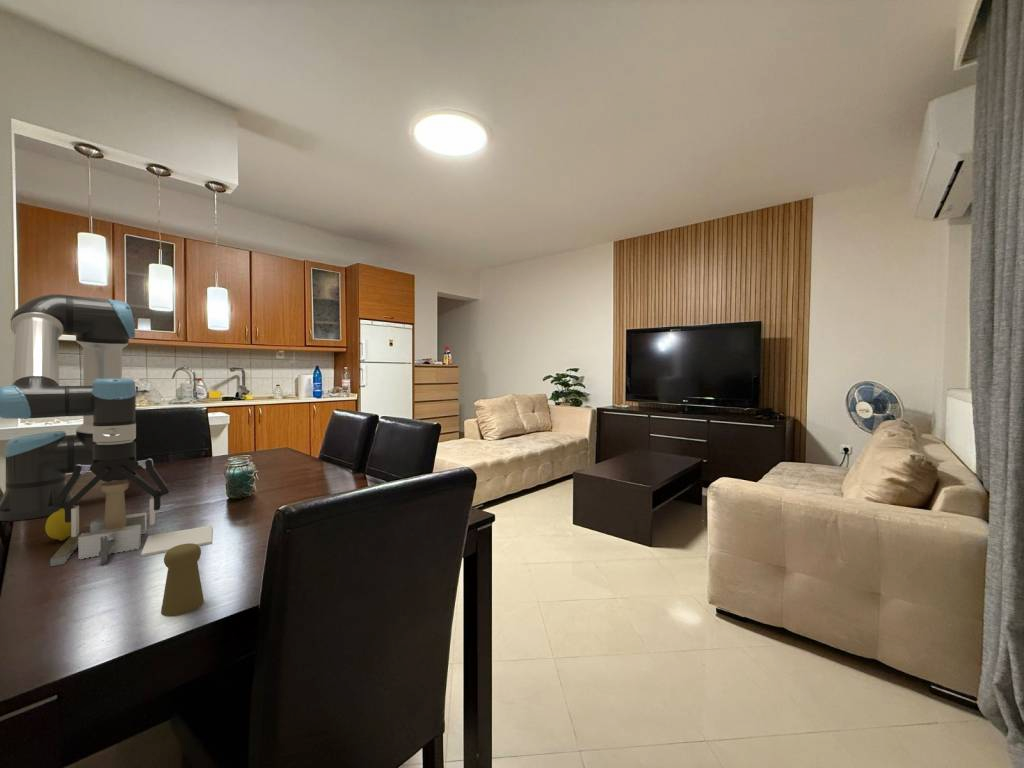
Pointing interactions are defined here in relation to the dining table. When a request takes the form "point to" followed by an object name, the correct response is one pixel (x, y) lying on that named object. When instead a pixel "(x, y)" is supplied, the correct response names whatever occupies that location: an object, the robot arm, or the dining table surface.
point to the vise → (104, 540)
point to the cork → (182, 580)
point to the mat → (177, 540)
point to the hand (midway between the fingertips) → (115, 529)
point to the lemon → (58, 526)
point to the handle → (115, 503)
